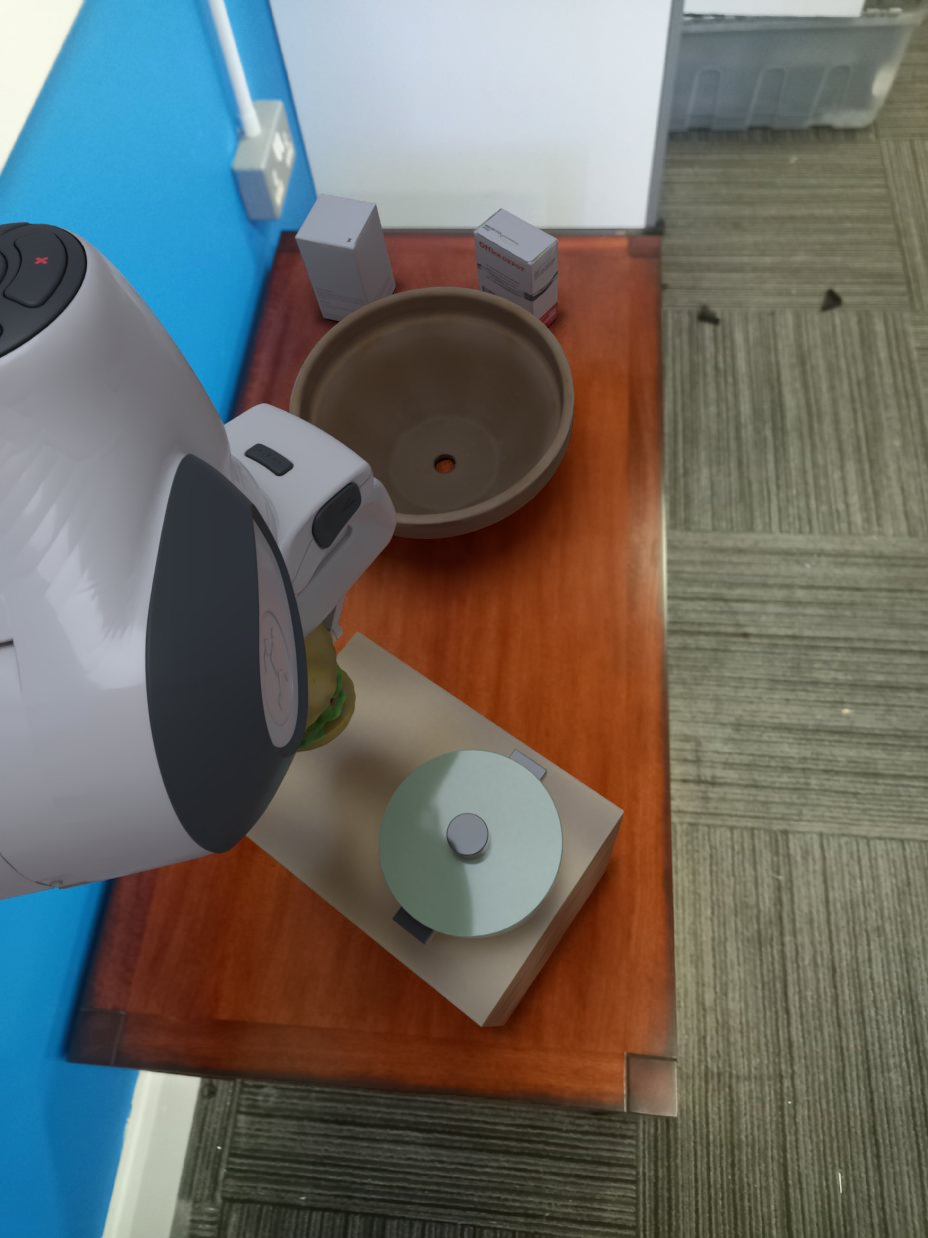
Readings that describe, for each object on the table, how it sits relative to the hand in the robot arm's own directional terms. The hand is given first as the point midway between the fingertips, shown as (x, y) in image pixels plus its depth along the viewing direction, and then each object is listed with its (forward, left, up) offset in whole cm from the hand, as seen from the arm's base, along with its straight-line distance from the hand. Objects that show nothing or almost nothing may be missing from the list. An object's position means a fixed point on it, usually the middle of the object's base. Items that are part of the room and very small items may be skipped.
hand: (280, 689), depth 49 cm
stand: (0, -7, -38) cm, 38 cm away
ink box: (+57, +26, -38) cm, 73 cm away
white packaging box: (+48, +44, -38) cm, 75 cm away
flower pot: (+34, +20, -38) cm, 55 cm away
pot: (0, -12, -14) cm, 18 cm away
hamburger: (0, 0, -5) cm, 5 cm away
